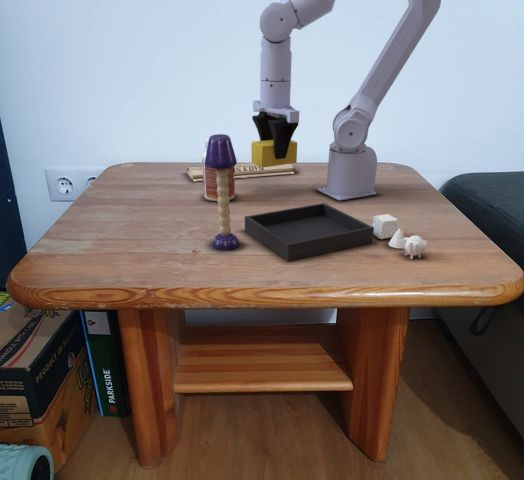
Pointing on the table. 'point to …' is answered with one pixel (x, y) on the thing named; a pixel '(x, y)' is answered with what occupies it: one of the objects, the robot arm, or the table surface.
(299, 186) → the table surface
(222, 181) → the toy lamp
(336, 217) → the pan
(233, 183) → the pill bottle
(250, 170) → the newspaper
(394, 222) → the game pieces
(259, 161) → the sponge
